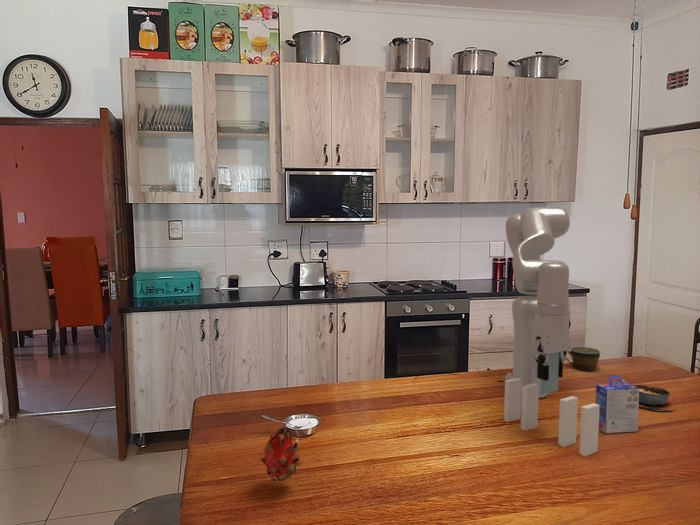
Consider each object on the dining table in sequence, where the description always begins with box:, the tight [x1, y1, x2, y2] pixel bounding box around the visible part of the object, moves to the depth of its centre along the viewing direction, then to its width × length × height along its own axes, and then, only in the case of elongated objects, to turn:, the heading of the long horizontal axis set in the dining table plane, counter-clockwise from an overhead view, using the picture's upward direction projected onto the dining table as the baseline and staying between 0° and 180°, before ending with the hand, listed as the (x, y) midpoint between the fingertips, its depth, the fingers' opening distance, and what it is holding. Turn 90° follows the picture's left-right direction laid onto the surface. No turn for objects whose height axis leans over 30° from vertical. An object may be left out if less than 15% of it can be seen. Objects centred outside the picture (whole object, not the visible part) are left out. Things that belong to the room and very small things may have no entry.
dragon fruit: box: [260, 427, 302, 482], centre depth 112 cm, size 8×8×12 cm
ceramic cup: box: [565, 346, 601, 373], centre depth 189 cm, size 13×10×10 cm
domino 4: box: [557, 395, 579, 448], centre depth 132 cm, size 2×5×12 cm, turn 121°
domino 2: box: [520, 383, 539, 431], centre depth 142 cm, size 2×5×12 cm, turn 121°
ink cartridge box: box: [595, 375, 640, 434], centre depth 141 cm, size 10×6×14 cm, turn 98°
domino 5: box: [578, 402, 600, 457], centre depth 126 cm, size 2×5×12 cm, turn 122°
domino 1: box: [503, 378, 522, 423], centre depth 147 cm, size 2×5×12 cm, turn 122°
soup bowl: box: [622, 379, 676, 412], centre depth 160 cm, size 15×16×7 cm
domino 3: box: [541, 350, 560, 395], centre depth 135 cm, size 2×5×12 cm, turn 122°
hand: (549, 377), depth 136 cm, fingers closed on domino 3, 4 cm apart
